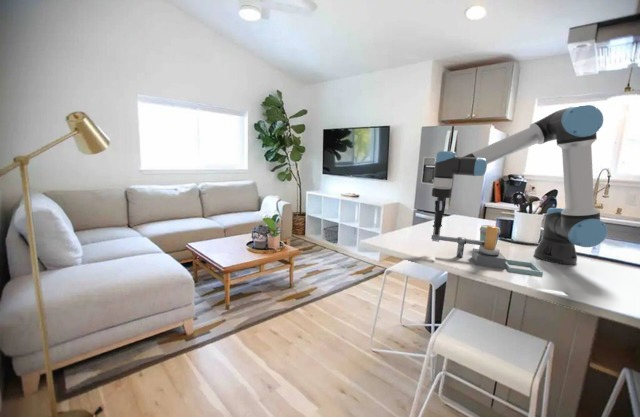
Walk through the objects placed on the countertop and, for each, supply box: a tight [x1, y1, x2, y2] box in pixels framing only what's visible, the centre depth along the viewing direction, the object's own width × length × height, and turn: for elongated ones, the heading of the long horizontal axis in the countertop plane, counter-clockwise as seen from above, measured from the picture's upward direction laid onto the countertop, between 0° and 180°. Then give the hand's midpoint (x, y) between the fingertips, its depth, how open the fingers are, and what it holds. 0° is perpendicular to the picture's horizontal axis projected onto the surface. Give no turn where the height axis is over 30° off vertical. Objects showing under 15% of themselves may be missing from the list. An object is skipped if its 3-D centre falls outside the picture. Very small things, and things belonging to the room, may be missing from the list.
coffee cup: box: [479, 224, 501, 248], centre depth 140 cm, size 9×9×12 cm
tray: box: [505, 258, 544, 277], centre depth 117 cm, size 11×11×2 cm
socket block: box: [471, 247, 507, 270], centre depth 123 cm, size 18×11×5 cm, turn 72°
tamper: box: [478, 225, 501, 256], centre depth 121 cm, size 7×7×15 cm
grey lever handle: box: [430, 234, 485, 259], centre depth 127 cm, size 24×4×9 cm, turn 72°
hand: (435, 241), depth 132 cm, fingers closed
